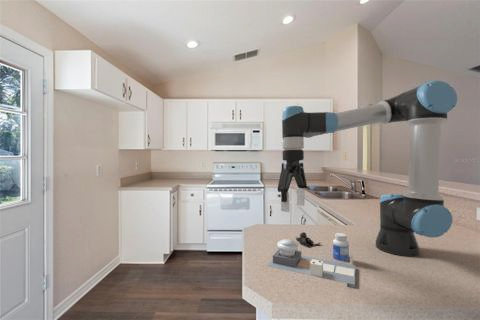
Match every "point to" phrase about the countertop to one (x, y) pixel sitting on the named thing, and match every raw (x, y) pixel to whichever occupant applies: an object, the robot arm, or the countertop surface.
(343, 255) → the pill bottle
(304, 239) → the stuffed animal
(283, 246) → the pop dome
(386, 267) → the countertop surface
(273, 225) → the countertop surface
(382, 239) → the robot arm
